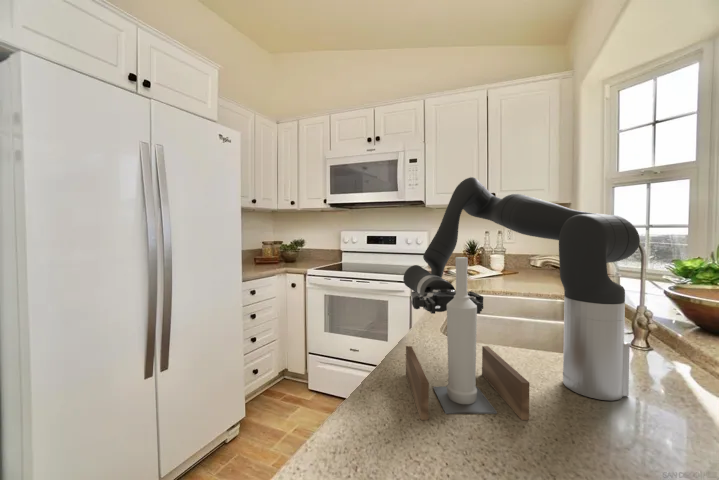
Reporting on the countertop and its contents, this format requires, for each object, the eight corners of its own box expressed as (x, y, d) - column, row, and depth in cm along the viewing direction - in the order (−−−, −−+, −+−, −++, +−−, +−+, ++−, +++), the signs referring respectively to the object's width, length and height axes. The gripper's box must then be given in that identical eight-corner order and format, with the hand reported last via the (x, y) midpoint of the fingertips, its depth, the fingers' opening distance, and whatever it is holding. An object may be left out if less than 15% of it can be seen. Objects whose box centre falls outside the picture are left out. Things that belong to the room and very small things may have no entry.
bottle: (479, 406, 53) (479, 258, 53) (447, 403, 54) (447, 258, 54) (474, 391, 58) (474, 256, 58) (445, 389, 59) (445, 256, 59)
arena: (487, 374, 66) (488, 346, 66) (528, 419, 50) (529, 382, 50) (405, 374, 66) (406, 346, 66) (421, 420, 50) (421, 382, 50)
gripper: (405, 276, 76) (418, 288, 59) (464, 276, 76) (494, 288, 60) (405, 307, 76) (418, 328, 60) (464, 307, 76) (493, 328, 60)
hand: (456, 308), depth 60 cm, fingers open, 8 cm apart
